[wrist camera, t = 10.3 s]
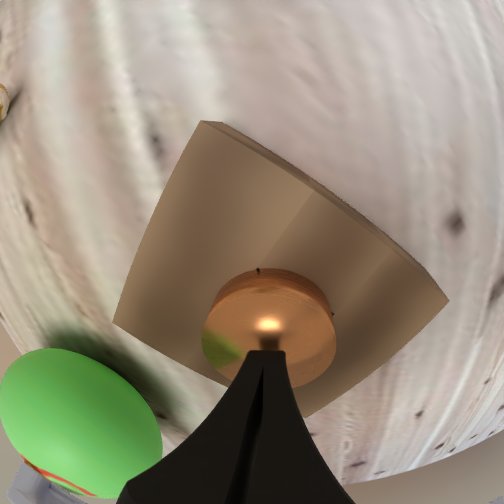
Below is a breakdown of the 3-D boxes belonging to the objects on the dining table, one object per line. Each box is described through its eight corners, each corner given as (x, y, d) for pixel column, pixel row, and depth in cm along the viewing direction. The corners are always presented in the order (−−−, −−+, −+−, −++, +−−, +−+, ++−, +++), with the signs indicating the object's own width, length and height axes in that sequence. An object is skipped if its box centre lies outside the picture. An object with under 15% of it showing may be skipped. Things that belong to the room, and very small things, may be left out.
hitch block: (424, 268, 14) (449, 300, 11) (305, 380, 19) (305, 417, 16) (221, 122, 12) (200, 120, 9) (137, 290, 17) (112, 322, 14)
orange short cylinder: (340, 257, 14) (360, 316, 10) (304, 333, 16) (305, 398, 12) (237, 227, 14) (213, 276, 9) (216, 310, 16) (194, 372, 12)
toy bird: (126, 313, 18) (21, 477, 5) (208, 430, 25) (178, 545, 12) (23, 321, 22) (-45, 402, 9) (97, 414, 29) (58, 490, 16)
